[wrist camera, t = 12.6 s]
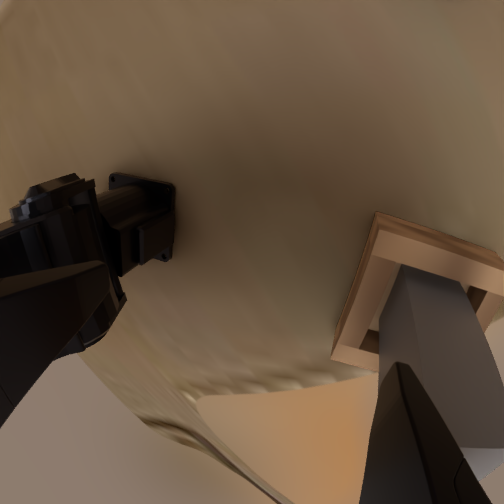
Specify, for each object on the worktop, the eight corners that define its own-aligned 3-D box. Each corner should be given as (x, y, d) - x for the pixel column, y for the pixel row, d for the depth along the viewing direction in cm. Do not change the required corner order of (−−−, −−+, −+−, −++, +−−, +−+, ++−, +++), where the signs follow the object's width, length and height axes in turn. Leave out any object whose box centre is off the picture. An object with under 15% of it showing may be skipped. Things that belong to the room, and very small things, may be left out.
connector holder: (335, 328, 22) (330, 359, 19) (375, 211, 18) (379, 229, 15) (441, 356, 20) (447, 386, 17) (495, 252, 16) (514, 275, 13)
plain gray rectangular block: (378, 319, 20) (367, 495, 9) (401, 263, 18) (427, 444, 7) (432, 333, 19) (452, 499, 8) (459, 281, 17) (520, 448, 6)
